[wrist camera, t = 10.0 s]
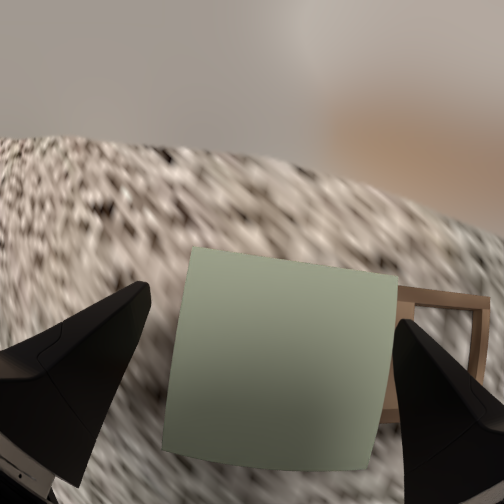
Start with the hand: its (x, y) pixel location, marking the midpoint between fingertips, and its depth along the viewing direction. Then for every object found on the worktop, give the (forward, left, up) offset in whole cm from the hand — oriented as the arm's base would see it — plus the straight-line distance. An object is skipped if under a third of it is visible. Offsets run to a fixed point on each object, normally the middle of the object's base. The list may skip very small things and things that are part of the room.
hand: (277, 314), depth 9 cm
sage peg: (-1, 0, -8) cm, 8 cm away
